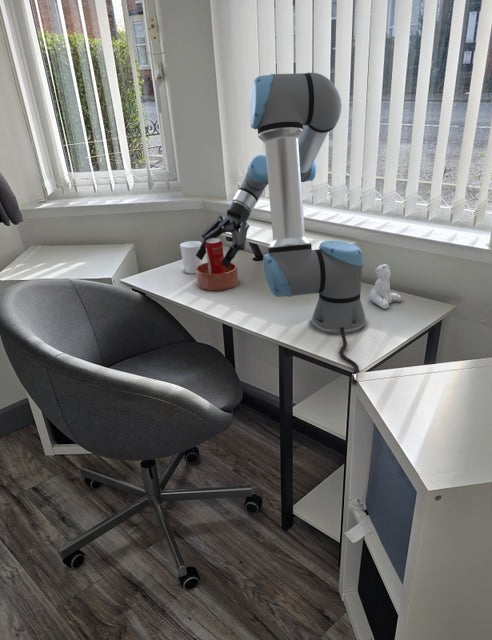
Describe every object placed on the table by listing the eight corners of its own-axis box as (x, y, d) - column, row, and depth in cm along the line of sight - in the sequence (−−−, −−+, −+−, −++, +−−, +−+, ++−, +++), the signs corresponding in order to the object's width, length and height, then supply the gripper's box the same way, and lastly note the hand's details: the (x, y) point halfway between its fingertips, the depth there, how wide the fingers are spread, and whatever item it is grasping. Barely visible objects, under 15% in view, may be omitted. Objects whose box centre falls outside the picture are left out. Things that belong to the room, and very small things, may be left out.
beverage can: (227, 279, 191) (224, 236, 183) (224, 285, 186) (221, 242, 178) (211, 279, 192) (207, 236, 184) (207, 285, 186) (203, 242, 178)
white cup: (179, 273, 200) (176, 246, 194) (188, 266, 206) (185, 240, 201) (199, 274, 198) (196, 247, 192) (207, 268, 204) (204, 241, 199)
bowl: (232, 292, 182) (230, 275, 178) (192, 290, 184) (190, 273, 181) (242, 278, 193) (241, 261, 190) (204, 276, 196) (202, 260, 193)
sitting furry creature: (385, 310, 164) (388, 272, 158) (362, 303, 169) (364, 266, 163) (402, 301, 170) (406, 263, 164) (379, 294, 175) (382, 258, 169)
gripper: (272, 219, 179) (242, 275, 178) (224, 209, 194) (195, 260, 194) (260, 205, 173) (228, 263, 172) (211, 196, 188) (181, 248, 188)
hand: (211, 261), depth 183 cm, fingers open, 13 cm apart
